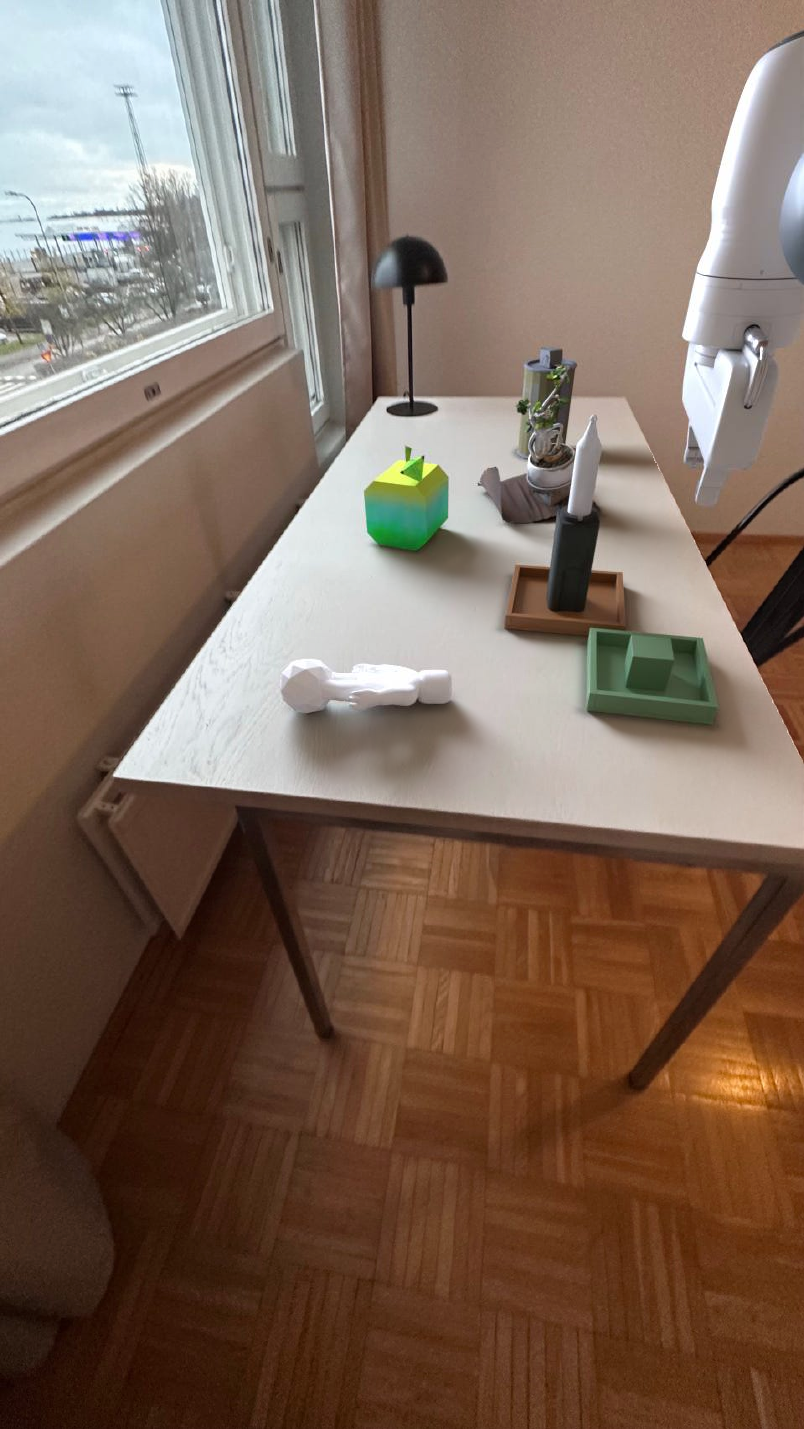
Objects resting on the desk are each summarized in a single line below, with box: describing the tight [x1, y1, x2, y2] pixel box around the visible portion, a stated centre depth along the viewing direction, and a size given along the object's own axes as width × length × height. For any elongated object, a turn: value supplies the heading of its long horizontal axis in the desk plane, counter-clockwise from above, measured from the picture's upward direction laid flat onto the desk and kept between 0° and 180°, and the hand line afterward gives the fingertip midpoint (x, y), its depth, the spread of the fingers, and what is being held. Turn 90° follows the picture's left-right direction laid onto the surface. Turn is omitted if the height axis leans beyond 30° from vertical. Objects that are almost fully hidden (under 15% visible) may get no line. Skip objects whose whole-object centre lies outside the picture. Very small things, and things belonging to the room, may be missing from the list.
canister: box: [516, 345, 578, 460], centre depth 131 cm, size 11×10×20 cm
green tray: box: [585, 628, 719, 726], centre depth 76 cm, size 14×14×3 cm
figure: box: [278, 658, 453, 714], centre depth 73 cm, size 11×7×20 cm
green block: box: [624, 635, 674, 691], centre depth 74 cm, size 4×4×4 cm
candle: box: [546, 414, 603, 612], centre depth 81 cm, size 5×5×25 cm
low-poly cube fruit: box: [363, 445, 450, 552], centre depth 104 cm, size 11×10×15 cm
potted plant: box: [476, 364, 602, 525], centre depth 111 cm, size 20×19×25 cm
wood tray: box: [503, 564, 627, 637], centre depth 89 cm, size 16×15×2 cm
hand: (698, 483), depth 61 cm, fingers open, 8 cm apart
